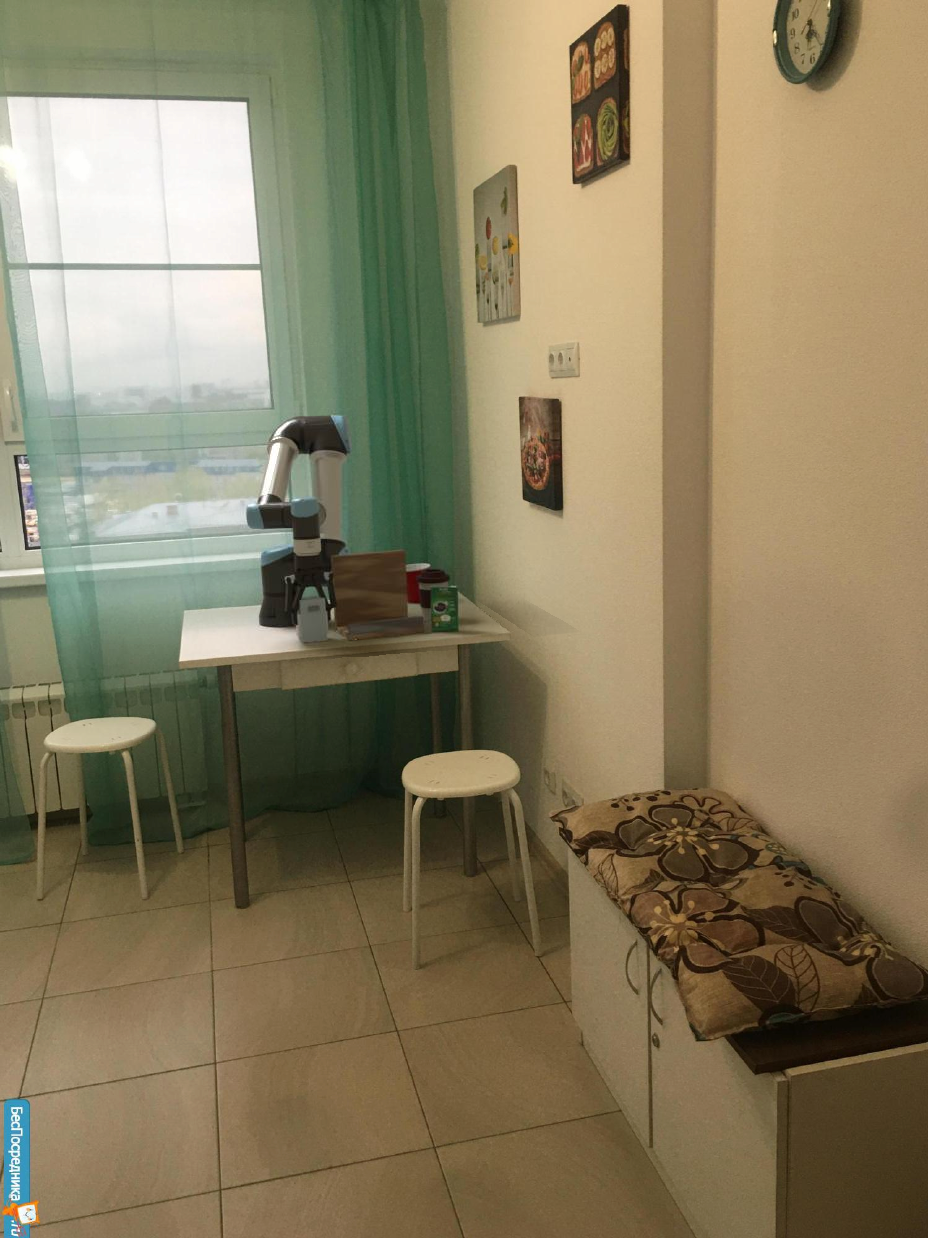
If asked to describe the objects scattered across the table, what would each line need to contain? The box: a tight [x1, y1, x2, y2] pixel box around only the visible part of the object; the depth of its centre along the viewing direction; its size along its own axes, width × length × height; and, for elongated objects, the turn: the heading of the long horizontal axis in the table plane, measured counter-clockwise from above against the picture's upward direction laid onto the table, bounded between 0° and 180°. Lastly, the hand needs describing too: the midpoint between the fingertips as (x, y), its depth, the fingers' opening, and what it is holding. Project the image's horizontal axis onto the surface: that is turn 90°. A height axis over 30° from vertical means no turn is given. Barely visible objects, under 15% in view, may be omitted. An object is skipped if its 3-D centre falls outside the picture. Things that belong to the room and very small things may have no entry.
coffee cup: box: [417, 568, 451, 623], centre depth 328 cm, size 10×10×15 cm
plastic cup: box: [406, 563, 431, 604], centre depth 357 cm, size 11×11×12 cm
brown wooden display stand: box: [331, 549, 425, 641], centre depth 313 cm, size 15×22×22 cm
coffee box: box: [430, 585, 459, 632], centre depth 313 cm, size 8×3×13 cm, turn 88°
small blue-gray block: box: [297, 595, 328, 644], centre depth 306 cm, size 6×7×12 cm
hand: (312, 634), depth 307 cm, fingers closed on small blue-gray block, 7 cm apart
